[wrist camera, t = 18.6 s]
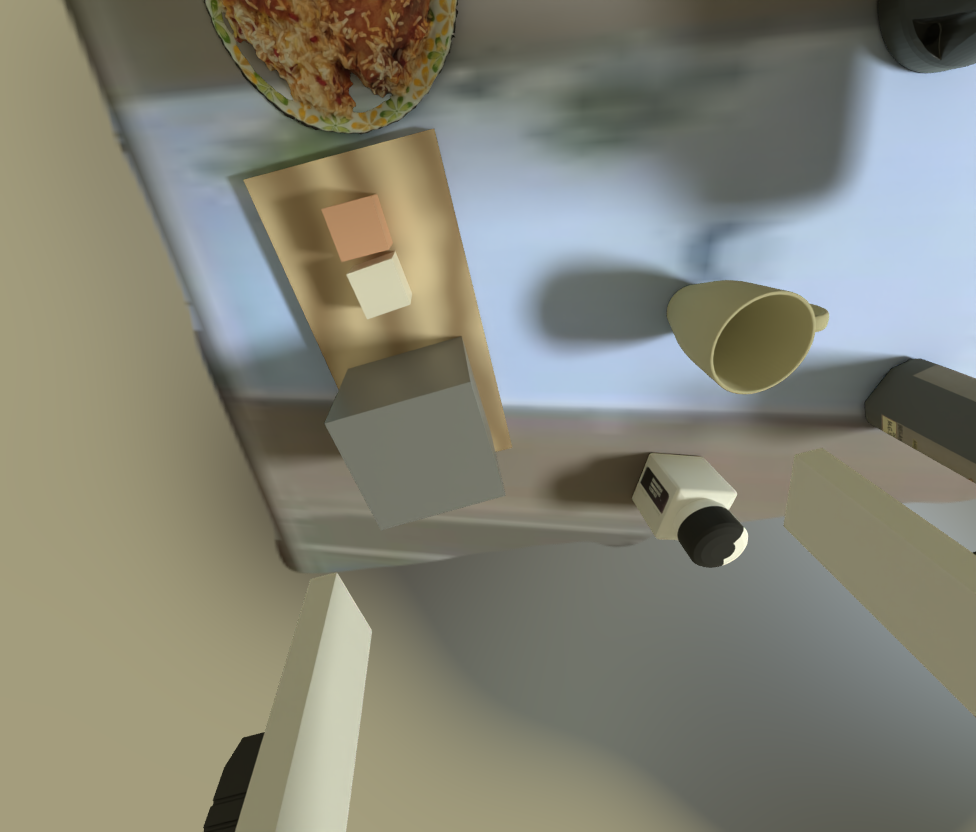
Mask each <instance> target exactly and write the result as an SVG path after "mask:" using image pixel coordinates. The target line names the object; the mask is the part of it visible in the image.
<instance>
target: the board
mask: <svg viewBox="0 0 976 832" xmlns="http://www.w3.org/2000/svg"><path fill="white" fill-rule="evenodd" d="M244 183H245V185H246V187H247V189H248V191H249V194H250V196H251V198H252V200H253V202H254V205H255V207H256V209H257V211H258V213H259V216H260V218H261V220H262V222H263V224H264V227H265V229H266V231H267V233H268V235H269V237H270V240H271V242H272V244H273V246H274V248H275V251H276V253H277V255H278V257H279V259H280V262H281V264H282V266H283V268H284V270H285V273H286V275H287V277H288V279H289V281H290V284H291V286H292V288H293V290H294V292H295V295H296V297H297V299H298V301H299V303H300V306H301V308H302V310H303V312H304V314H305V317H306V319H307V321H308V323H309V325H310V328H311V330H312V332H313V334H314V336H315V339H316V341H317V343H318V345H319V347H320V350H321V352H322V354H323V356H324V358H325V361H326V363H327V365H328V367H329V369H330V372H331V374H332V376H333V378H334V380H335V383H336V385H337V387H338V389H339V388H340V386H341V384H342V381H343V379H344V377H345V374H346V372H347V370H348V369H349V368H353V367H356V366H360V365H363V364H367V363H370V362H374V361H377V360H381V359H384V358H387V357H391V356H394V355H398V354H401V353H405V352H408V351H412V350H415V349H419V348H422V347H426V346H429V345H432V344H436V343H439V342H443V341H446V340H450V339H453V338H457V337H460V336H462V338H463V342H464V345H465V348H466V352H467V355H468V358H469V362H470V365H471V368H472V372H473V375H474V378H475V381H476V385H477V388H478V391H479V395H480V398H481V401H482V405H483V408H484V411H485V415H486V418H487V421H488V424H489V428H490V431H491V435H492V439H493V443H494V448H495V452H497V451H501V450H505V449H508V448H512V444H511V440H510V436H509V432H508V428H507V424H506V420H505V416H504V412H503V407H502V403H501V399H500V395H499V391H498V387H497V383H496V379H495V375H494V371H493V367H492V363H491V359H490V354H489V350H488V346H487V342H486V338H485V334H484V330H483V326H482V322H481V318H480V314H479V310H478V305H477V301H476V297H475V293H474V289H473V285H472V281H471V277H470V273H469V269H468V265H467V261H466V256H465V252H464V248H463V244H462V240H461V236H460V232H459V228H458V224H457V220H456V216H455V212H454V208H453V203H452V199H451V195H450V191H449V187H448V183H447V179H446V175H445V171H444V167H443V163H442V159H441V154H440V150H439V146H438V142H437V138H436V134H435V130H434V129H430V130H426V131H423V132H419V133H415V134H412V135H408V136H404V137H400V138H397V139H393V140H389V141H386V142H382V143H378V144H374V145H371V146H367V147H363V148H360V149H356V150H352V151H348V152H345V153H341V154H337V155H334V156H330V157H326V158H322V159H319V160H315V161H311V162H308V163H304V164H300V165H296V166H293V167H289V168H285V169H282V170H278V171H274V172H270V173H267V174H263V175H259V176H255V177H252V178H248V179H244ZM375 194H377V195H378V198H379V201H380V204H381V208H382V211H383V214H384V217H385V220H386V223H387V226H388V229H389V232H390V236H391V239H392V242H393V244H392V245H391V247H390V249H389V250H386V251H382V252H378V253H374V254H370V255H367V256H363V257H359V258H355V259H352V260H348V261H344V262H341V259H340V257H339V254H338V252H337V249H336V246H335V244H334V241H333V239H332V236H331V233H330V231H329V228H328V226H327V223H326V220H325V218H324V215H323V213H322V210H321V209H324V208H327V207H330V206H333V205H337V204H341V203H345V202H348V201H352V200H356V199H360V198H363V197H367V196H371V195H375ZM394 251H396V254H397V257H398V259H399V262H400V264H401V267H402V269H403V272H404V274H405V277H406V279H407V282H408V284H409V287H410V289H411V292H412V298H411V304H410V305H408V306H405V307H402V308H399V309H396V310H393V311H391V312H388V313H385V314H382V315H379V316H376V317H373V318H370V319H367V318H366V316H365V314H364V312H363V309H362V307H361V305H360V303H359V301H358V299H357V297H356V294H355V292H354V290H353V288H352V286H351V284H350V281H349V279H348V277H347V275H346V274H347V273H348V272H349V271H350V269H351V268H352V267H353V266H354V265H357V264H360V263H363V262H366V261H368V260H371V259H374V258H377V257H380V256H383V255H386V254H389V253H391V252H394Z"/></svg>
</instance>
